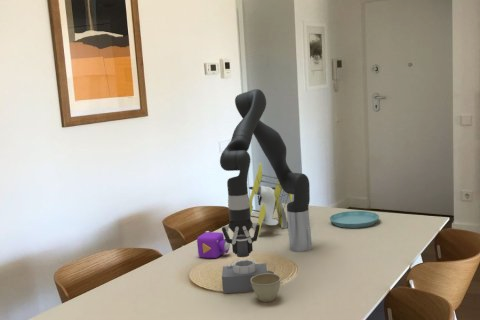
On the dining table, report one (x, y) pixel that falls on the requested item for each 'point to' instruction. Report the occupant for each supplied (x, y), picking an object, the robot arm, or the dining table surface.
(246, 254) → the lens
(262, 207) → the biplane
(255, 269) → the camera body
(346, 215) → the saucer
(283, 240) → the dining table surface
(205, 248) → the toy camera
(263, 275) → the flower pot
